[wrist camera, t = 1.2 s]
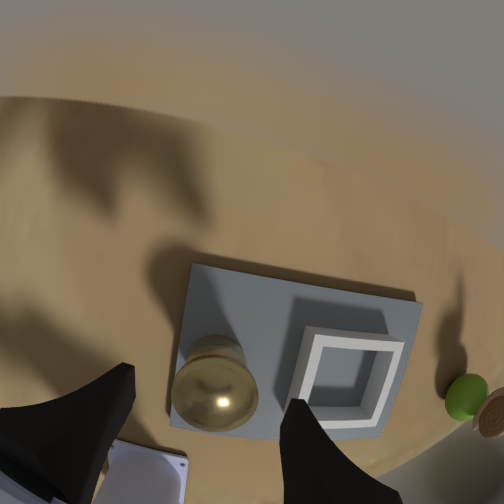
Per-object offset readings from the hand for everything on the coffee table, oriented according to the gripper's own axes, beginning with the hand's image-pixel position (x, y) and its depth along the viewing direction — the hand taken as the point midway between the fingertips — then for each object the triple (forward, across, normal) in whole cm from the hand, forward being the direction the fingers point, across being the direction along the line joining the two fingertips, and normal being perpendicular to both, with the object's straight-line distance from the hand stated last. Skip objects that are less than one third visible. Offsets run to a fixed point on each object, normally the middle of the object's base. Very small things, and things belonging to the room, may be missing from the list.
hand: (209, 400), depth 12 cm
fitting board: (+10, -7, +4) cm, 13 cm away
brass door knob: (+8, 0, +4) cm, 9 cm away
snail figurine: (+11, -27, +6) cm, 29 cm away
